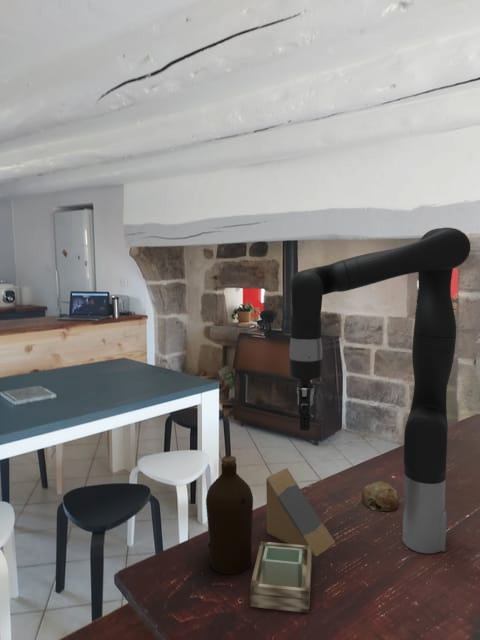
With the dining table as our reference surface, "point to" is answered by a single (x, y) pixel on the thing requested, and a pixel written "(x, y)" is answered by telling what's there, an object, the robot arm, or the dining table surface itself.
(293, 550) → the box
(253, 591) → the big crate
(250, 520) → the olive oil
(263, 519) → the dining table surface
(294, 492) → the sandwich container
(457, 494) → the dining table surface
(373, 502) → the bread roll
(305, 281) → the robot arm
